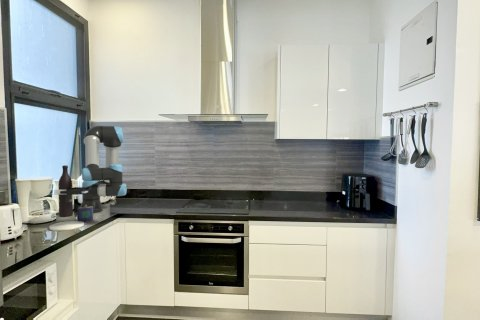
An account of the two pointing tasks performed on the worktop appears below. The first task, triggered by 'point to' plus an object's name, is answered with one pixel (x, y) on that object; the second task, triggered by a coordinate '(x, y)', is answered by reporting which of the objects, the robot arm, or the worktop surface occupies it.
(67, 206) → the wine bottle
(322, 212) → the worktop surface
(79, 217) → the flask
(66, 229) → the ceramic dish
